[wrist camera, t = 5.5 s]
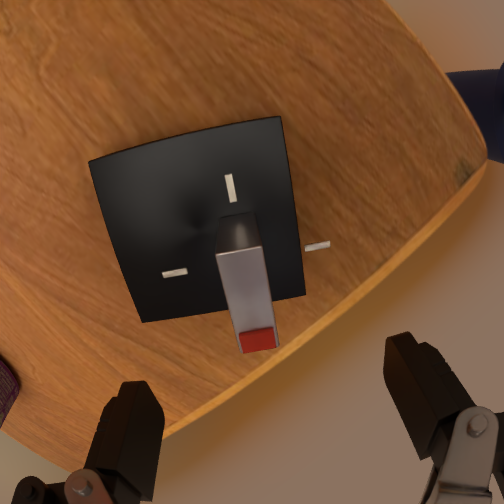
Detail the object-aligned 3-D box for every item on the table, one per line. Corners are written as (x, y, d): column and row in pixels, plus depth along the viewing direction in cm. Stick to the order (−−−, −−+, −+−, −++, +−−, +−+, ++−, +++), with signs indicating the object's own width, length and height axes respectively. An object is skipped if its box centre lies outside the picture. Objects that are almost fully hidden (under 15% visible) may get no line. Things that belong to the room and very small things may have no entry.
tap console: (300, 112, 17) (313, 111, 14) (322, 287, 22) (334, 313, 19) (107, 154, 17) (85, 162, 14) (158, 316, 22) (150, 344, 19)
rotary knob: (218, 218, 16) (214, 257, 12) (254, 211, 16) (262, 247, 12) (238, 301, 18) (240, 357, 14) (269, 295, 18) (280, 350, 14)
